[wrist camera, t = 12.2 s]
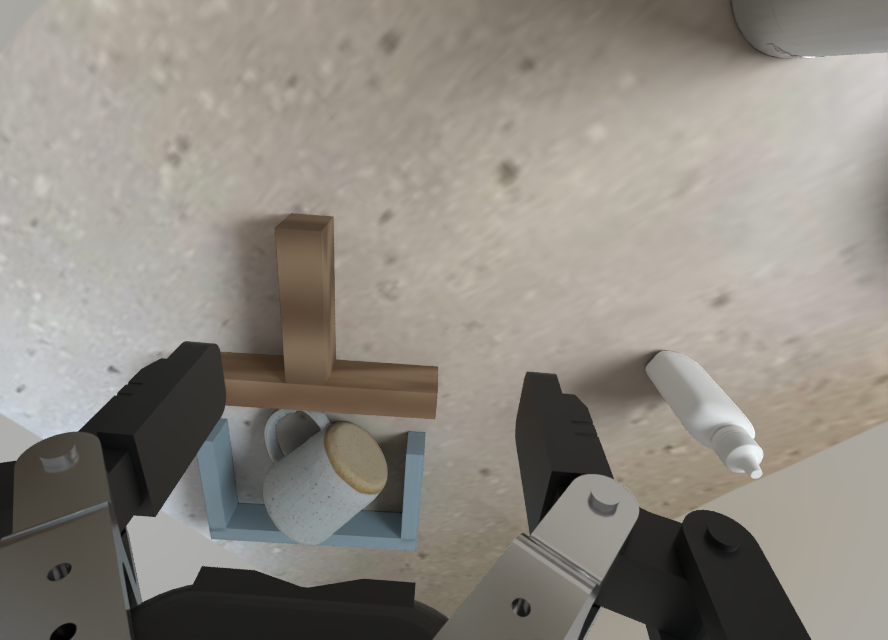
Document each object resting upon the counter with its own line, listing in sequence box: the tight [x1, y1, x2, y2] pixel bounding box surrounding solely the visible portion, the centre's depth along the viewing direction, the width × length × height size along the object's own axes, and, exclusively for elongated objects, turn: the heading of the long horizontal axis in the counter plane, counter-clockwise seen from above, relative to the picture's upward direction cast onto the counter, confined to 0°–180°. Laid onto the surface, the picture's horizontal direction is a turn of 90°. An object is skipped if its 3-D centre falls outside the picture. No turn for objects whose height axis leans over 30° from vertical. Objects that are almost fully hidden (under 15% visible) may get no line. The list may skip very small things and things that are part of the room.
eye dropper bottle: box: [646, 351, 763, 479], centre depth 36 cm, size 4×6×12 cm
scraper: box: [220, 213, 438, 419], centre depth 37 cm, size 14×20×4 cm
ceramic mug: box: [263, 409, 388, 545], centre depth 41 cm, size 11×8×8 cm
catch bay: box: [197, 419, 425, 551], centre depth 45 cm, size 12×19×3 cm, turn 85°
